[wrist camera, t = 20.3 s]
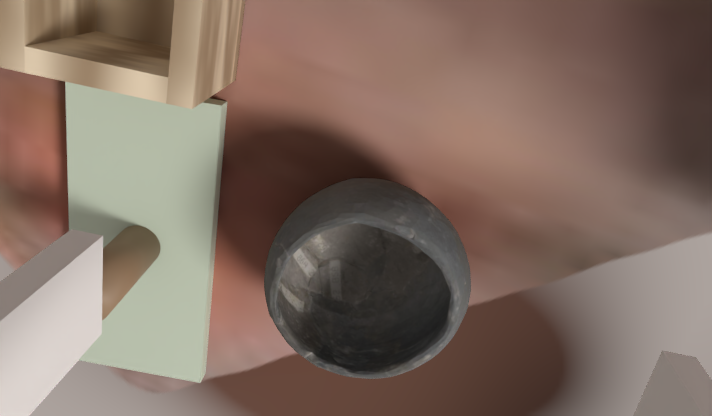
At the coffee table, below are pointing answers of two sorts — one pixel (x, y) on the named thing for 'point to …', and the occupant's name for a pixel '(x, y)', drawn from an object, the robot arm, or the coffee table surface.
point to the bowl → (367, 279)
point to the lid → (148, 223)
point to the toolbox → (127, 45)
